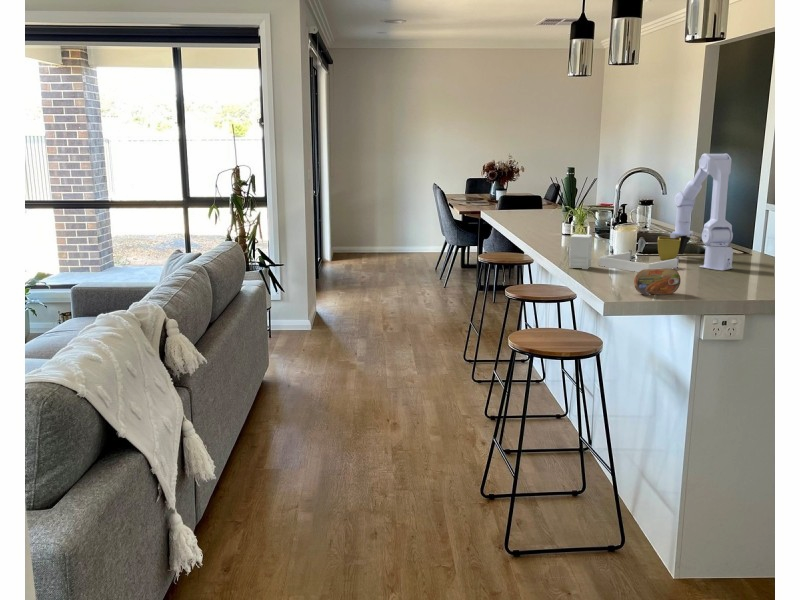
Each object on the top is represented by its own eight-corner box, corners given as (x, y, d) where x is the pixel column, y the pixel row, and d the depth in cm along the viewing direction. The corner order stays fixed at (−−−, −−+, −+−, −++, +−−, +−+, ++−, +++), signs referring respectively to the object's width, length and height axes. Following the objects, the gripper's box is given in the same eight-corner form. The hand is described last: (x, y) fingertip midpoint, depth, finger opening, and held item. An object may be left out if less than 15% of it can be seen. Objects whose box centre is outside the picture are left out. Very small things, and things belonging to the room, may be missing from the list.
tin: (636, 295, 221) (638, 269, 219) (631, 293, 224) (633, 268, 222) (680, 294, 223) (682, 268, 222) (674, 292, 226) (676, 266, 225)
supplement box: (591, 266, 272) (593, 234, 269) (587, 269, 265) (589, 237, 262) (572, 265, 275) (573, 233, 272) (568, 268, 268) (570, 235, 266)
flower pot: (655, 260, 286) (657, 238, 284) (656, 257, 294) (658, 236, 292) (678, 261, 283) (680, 240, 281) (678, 258, 291) (680, 237, 289)
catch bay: (677, 267, 270) (678, 256, 269) (647, 273, 258) (648, 262, 257) (629, 260, 287) (630, 249, 286) (598, 265, 274) (599, 254, 273)
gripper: (683, 219, 298) (680, 251, 301) (664, 222, 290) (662, 254, 293) (698, 221, 293) (695, 253, 296) (680, 223, 284) (677, 256, 287)
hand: (680, 253), depth 294 cm, fingers closed
